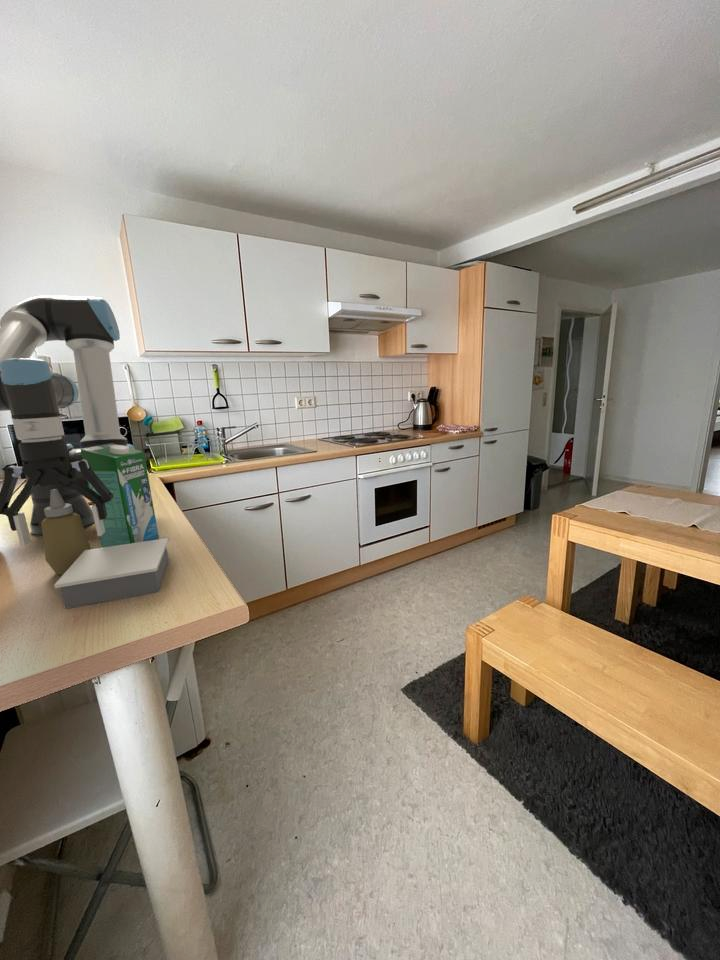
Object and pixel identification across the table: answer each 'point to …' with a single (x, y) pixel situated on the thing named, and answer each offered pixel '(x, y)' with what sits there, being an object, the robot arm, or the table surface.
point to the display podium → (114, 573)
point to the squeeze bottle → (62, 534)
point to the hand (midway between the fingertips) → (64, 539)
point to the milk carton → (123, 494)
